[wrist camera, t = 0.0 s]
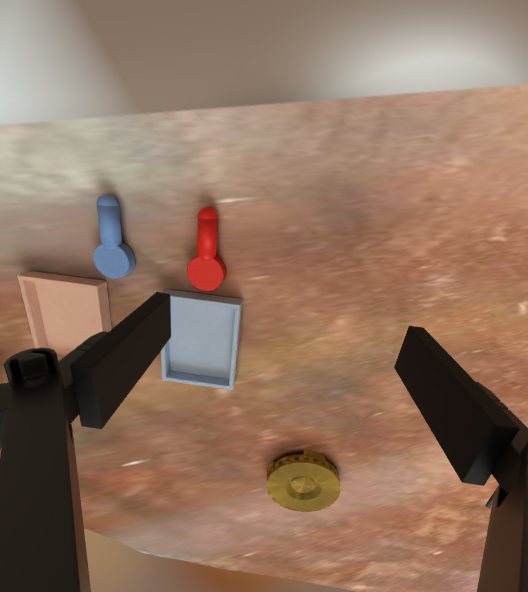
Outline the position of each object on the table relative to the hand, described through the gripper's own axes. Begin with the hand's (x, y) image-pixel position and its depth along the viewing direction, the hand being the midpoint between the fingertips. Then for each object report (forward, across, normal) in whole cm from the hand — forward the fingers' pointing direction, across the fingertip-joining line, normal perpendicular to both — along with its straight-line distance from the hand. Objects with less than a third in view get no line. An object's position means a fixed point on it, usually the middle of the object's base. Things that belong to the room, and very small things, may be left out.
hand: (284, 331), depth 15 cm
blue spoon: (+19, -21, 0) cm, 28 cm away
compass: (+19, +8, -38) cm, 43 cm away
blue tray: (+19, -10, -13) cm, 25 cm away
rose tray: (+19, -28, -13) cm, 36 cm away
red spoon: (+19, -9, 0) cm, 21 cm away
